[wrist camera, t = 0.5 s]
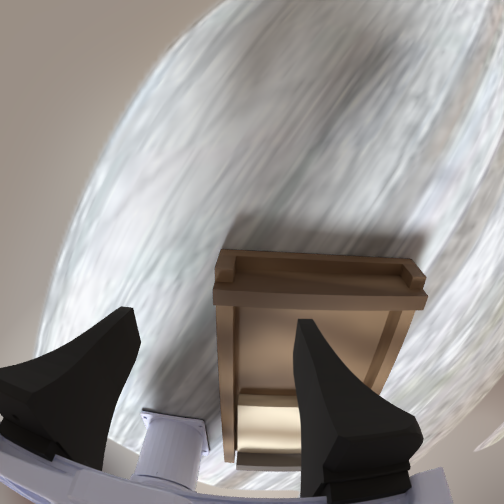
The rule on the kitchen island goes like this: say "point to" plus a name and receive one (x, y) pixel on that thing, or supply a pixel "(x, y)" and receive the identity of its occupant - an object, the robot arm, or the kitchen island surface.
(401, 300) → the walnut track
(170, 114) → the kitchen island surface
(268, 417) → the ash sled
